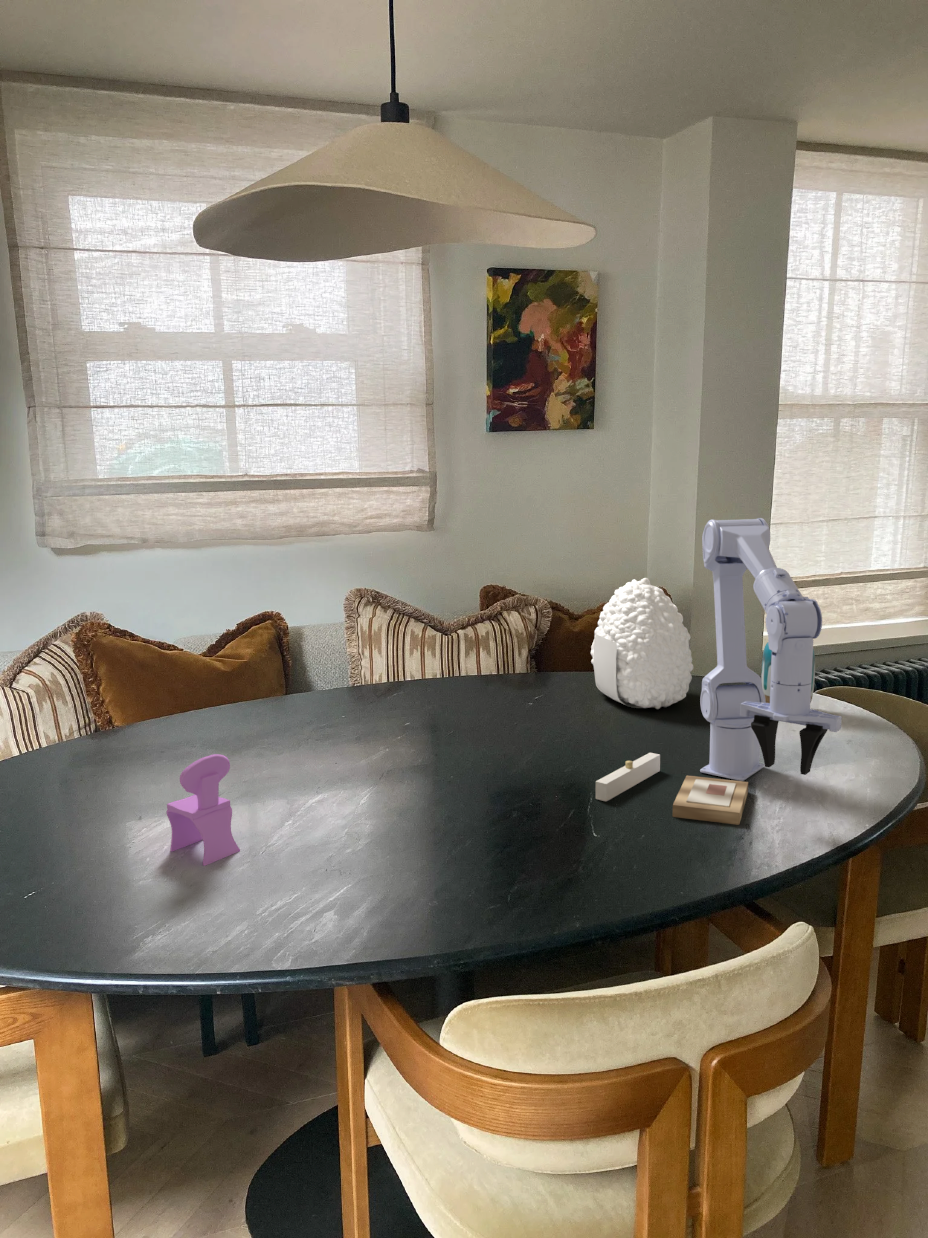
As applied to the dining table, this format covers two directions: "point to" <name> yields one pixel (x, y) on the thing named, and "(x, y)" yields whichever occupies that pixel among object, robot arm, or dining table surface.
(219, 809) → the toy chair
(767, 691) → the vase
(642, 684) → the rice ball
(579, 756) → the dining table surface
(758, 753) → the robot arm
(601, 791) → the rail
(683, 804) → the frame
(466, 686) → the dining table surface
